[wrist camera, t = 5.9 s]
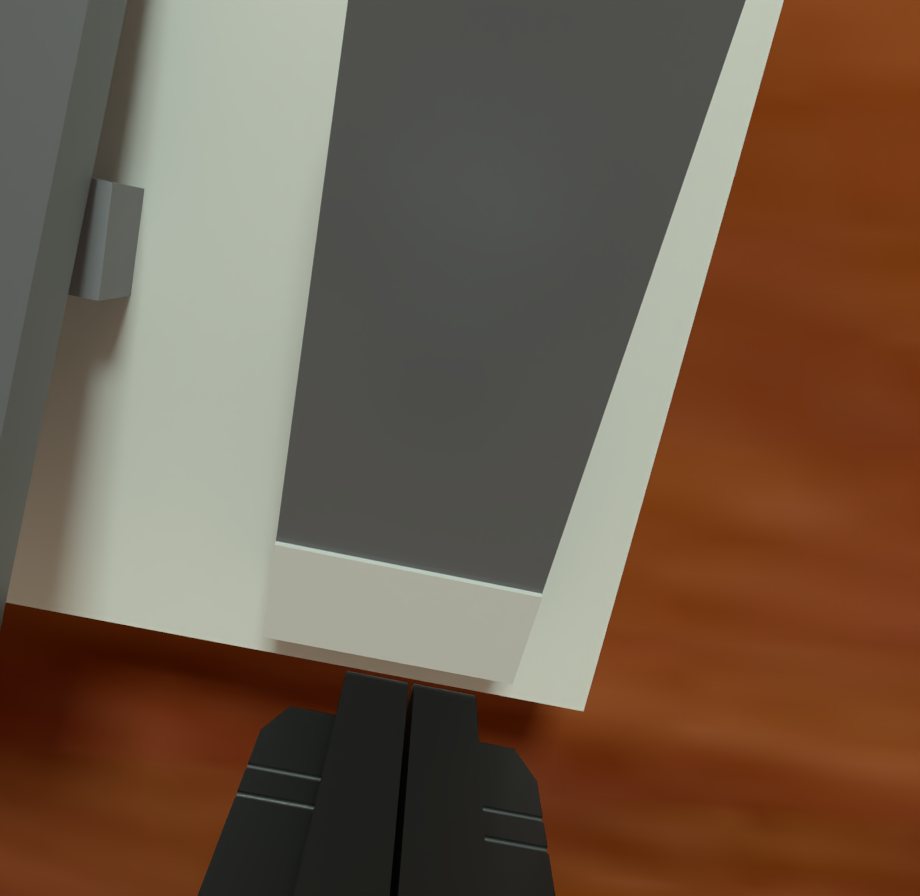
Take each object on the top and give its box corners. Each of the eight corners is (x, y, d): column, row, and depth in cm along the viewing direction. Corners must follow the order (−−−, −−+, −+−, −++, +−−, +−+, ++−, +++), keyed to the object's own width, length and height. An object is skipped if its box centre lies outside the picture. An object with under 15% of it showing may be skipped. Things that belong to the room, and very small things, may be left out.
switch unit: (-610, -793, 13) (-1112, -1289, 9) (835, -374, 15) (993, -622, 11) (-545, 426, 18) (-859, 484, 13) (562, 640, 19) (595, 753, 15)
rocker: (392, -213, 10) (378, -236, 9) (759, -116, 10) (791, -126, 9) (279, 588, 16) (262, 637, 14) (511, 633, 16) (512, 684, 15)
